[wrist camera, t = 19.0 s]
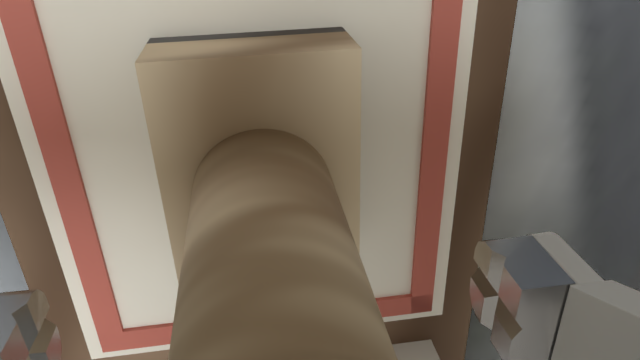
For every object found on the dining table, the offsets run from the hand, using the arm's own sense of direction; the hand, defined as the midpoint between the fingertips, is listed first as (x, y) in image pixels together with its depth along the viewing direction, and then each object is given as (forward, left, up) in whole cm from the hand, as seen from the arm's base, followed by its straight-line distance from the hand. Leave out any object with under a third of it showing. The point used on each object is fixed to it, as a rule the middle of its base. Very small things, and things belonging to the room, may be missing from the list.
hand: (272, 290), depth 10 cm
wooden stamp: (0, 0, -6) cm, 6 cm away
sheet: (0, 0, -7) cm, 7 cm away
